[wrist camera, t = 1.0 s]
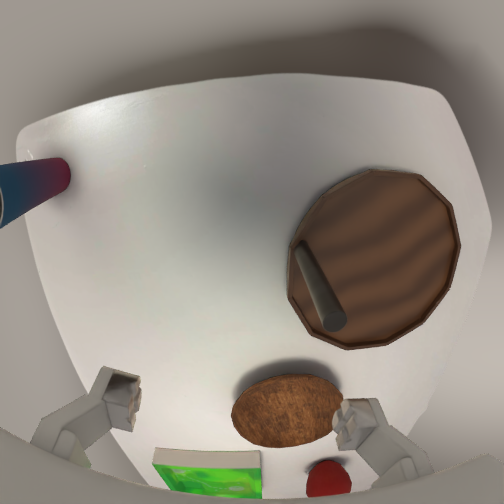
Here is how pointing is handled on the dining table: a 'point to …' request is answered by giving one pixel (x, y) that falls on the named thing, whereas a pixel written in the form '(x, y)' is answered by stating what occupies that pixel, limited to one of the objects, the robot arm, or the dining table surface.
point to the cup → (30, 185)
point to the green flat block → (211, 472)
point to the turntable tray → (372, 259)
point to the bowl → (286, 410)
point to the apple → (328, 480)
